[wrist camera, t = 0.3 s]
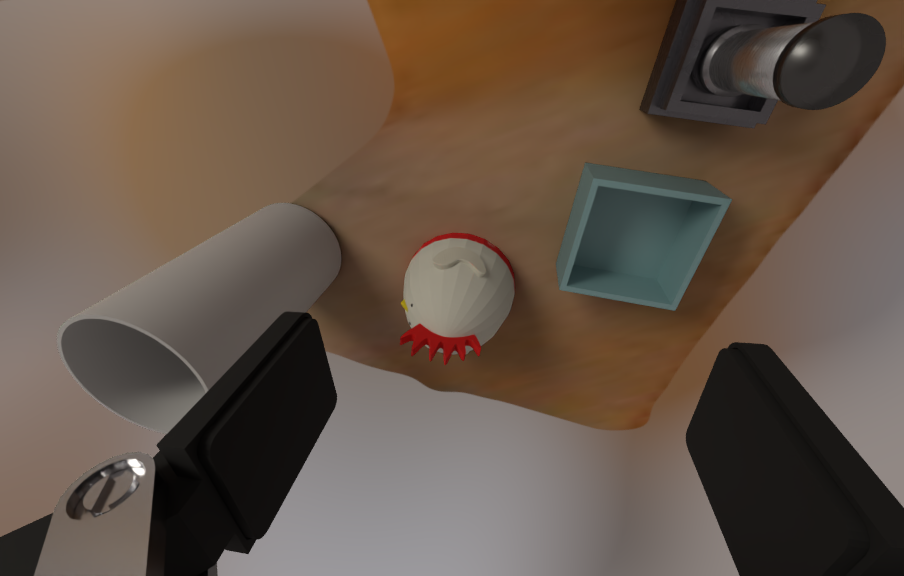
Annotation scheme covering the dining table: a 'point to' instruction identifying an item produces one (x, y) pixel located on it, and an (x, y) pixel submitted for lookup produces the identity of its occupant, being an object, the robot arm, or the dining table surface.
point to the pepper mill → (793, 60)
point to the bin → (637, 235)
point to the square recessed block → (691, 23)
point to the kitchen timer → (456, 295)
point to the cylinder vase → (198, 314)
